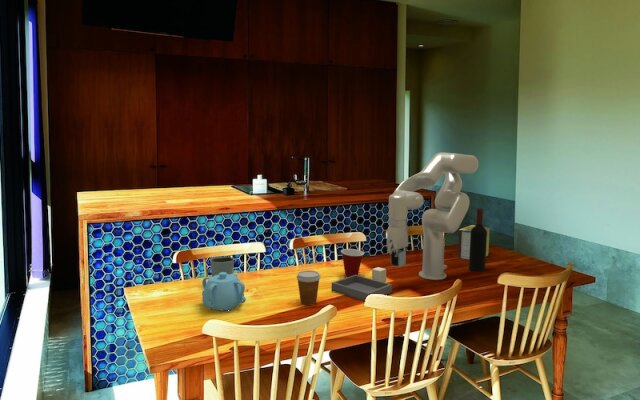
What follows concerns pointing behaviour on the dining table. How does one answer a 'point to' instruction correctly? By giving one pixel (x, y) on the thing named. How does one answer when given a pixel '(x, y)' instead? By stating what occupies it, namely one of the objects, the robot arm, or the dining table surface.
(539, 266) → the dining table surface
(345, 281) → the tray
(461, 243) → the protein box
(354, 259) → the plastic cup
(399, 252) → the blue block
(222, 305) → the decorative pot
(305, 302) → the disposable coffee cup
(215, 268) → the drinking glass
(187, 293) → the dining table surface
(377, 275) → the cream block
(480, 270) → the wine bottle
